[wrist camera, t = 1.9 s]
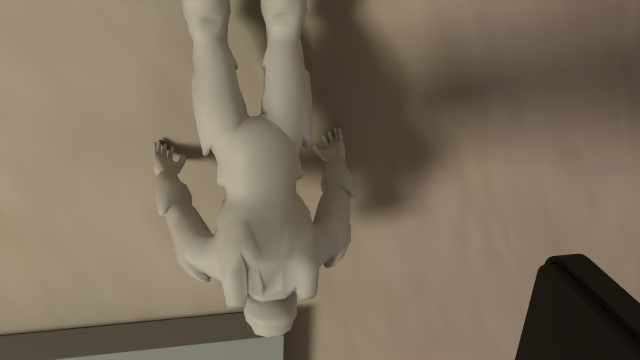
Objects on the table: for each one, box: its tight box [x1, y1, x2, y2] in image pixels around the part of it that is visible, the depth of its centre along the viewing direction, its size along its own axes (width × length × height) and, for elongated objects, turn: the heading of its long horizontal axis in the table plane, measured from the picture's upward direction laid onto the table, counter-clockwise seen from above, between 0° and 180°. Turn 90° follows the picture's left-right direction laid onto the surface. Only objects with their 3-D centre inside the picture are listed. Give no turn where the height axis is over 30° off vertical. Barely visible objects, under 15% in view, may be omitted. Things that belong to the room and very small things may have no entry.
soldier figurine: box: [153, 0, 356, 337], centre depth 16 cm, size 6×5×12 cm
